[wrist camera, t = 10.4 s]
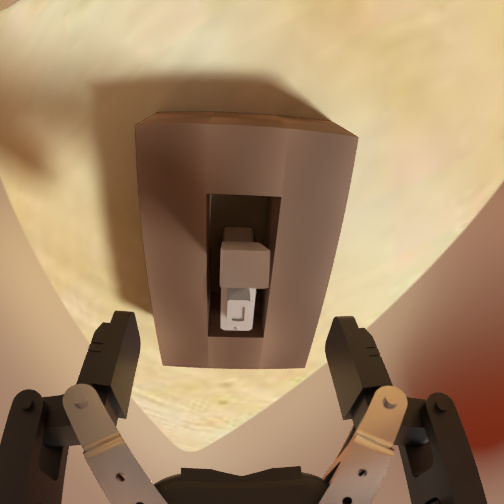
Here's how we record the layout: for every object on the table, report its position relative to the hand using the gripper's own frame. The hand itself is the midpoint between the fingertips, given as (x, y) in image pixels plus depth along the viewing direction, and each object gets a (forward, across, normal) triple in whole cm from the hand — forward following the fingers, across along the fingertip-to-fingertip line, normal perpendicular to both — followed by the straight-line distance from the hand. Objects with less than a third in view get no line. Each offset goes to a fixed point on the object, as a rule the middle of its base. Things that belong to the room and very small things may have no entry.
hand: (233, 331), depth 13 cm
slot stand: (+8, 0, 0) cm, 8 cm away
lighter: (+8, 0, 0) cm, 8 cm away
